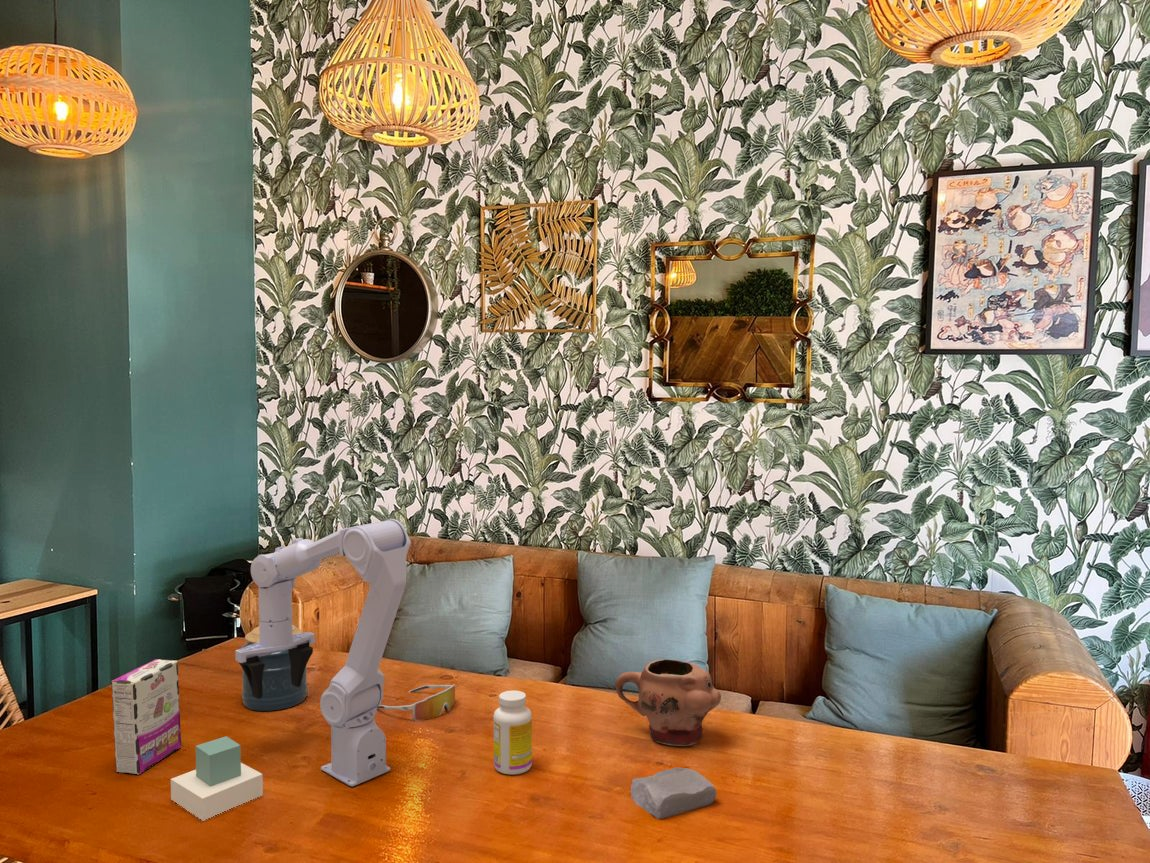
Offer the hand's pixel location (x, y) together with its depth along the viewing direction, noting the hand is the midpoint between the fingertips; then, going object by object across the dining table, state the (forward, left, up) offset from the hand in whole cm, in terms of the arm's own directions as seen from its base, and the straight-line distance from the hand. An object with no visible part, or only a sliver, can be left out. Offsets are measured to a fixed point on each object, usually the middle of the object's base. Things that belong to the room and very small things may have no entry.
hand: (277, 691), depth 151 cm
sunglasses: (-4, -29, -11) cm, 31 cm away
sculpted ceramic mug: (-51, -51, -11) cm, 73 cm away
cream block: (-10, +16, -11) cm, 22 cm away
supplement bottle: (-38, -23, -11) cm, 46 cm away
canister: (+21, -11, -11) cm, 26 cm away
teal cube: (-10, +16, -7) cm, 20 cm away
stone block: (-65, -32, -11) cm, 73 cm away
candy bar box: (+12, +18, -11) cm, 24 cm away
